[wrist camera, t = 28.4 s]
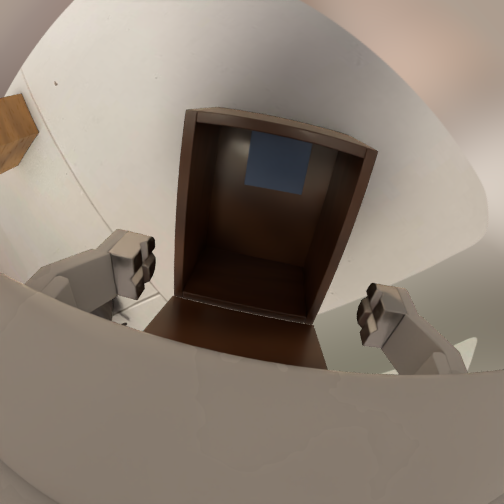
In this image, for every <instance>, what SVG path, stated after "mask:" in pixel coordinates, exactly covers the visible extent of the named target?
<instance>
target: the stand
mask: <svg viewBox="0 0 504 504" xmlns="http://www.w3.org/2000/svg"><path fill="white" fill-rule="evenodd" d="M38 133H39V132H38V130H37V127H36V125H35V123H34V121H33V119H32V117H31V115H30V112H29V110H28V108H27V106H26V103H25V101H24V99H23V96H22V94H17V95H12V96H7V97H3V98H0V174H2V173H4V172H6V171H8V170H10V169H12V168H14V167H16V166H18V165H19V163H20V161H21V159H22V158H23V156H24V154H25V153H26V151H27V150H28V148H29V146H30V145H31V143H32V142H33V140H34V139H35V137H36V136H37V134H38Z"/></svg>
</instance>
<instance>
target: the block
mask: <svg viewBox="0 0 504 504" xmlns="http://www.w3.org/2000/svg"><path fill="white" fill-rule="evenodd" d="M311 149H312V143H308V142H304V141H299V140H295V139H291V138H286V137H282V136H277V135H272V134H267V133H262V132H257V131H252V134H251V141H250V147H249V154H248V161H247V168H246V175H245V182H244V184H245V185H250V186H256V187H262V188H267V189H273V190H278V191H284V192H289V193H294V194H299V195H302V191H303V186H304V182H305V177H306V173H307V168H308V163H309V159H310V154H311Z"/></svg>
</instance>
